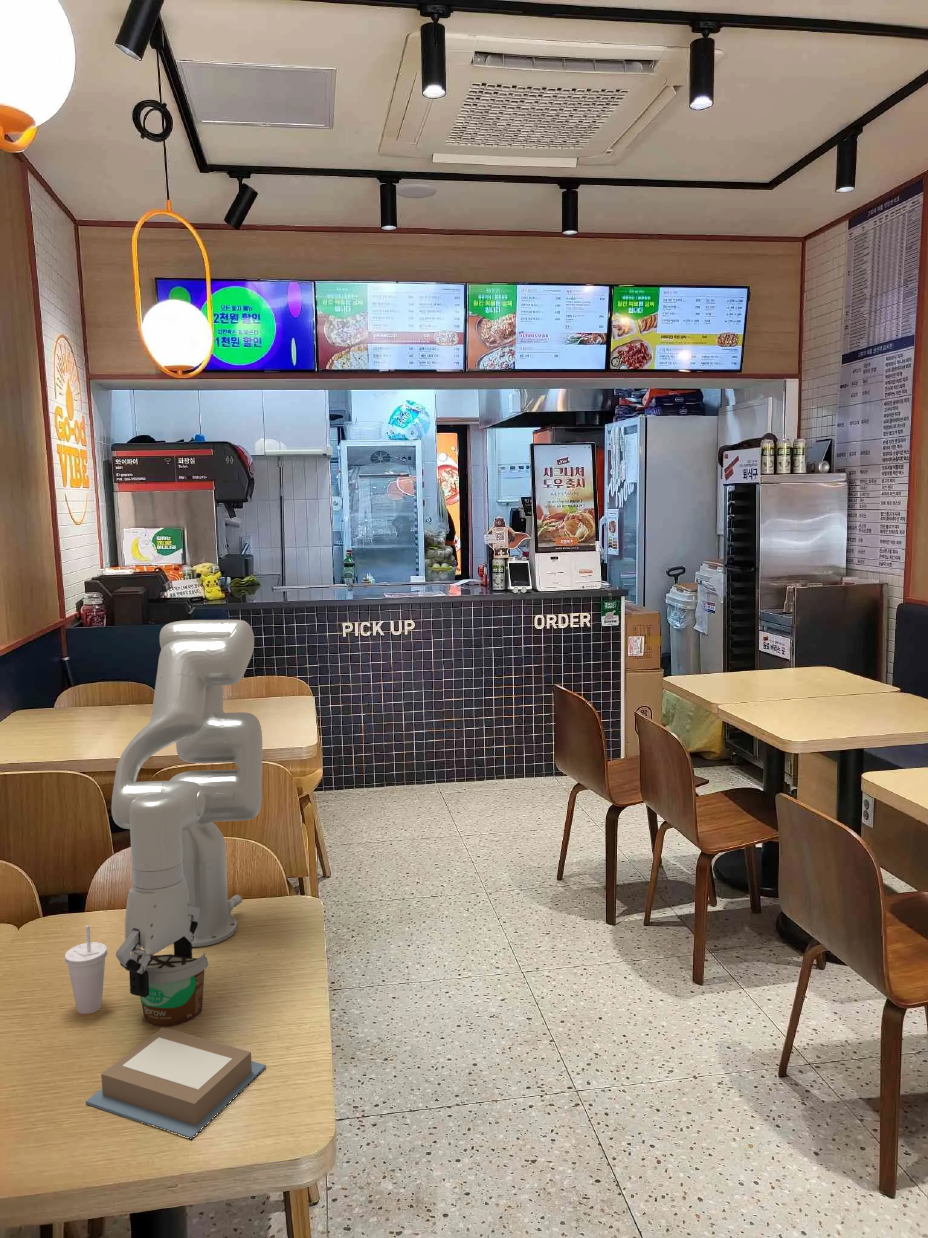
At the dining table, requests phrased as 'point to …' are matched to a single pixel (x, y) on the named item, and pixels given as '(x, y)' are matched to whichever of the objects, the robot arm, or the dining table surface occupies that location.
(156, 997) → the food container
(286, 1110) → the dining table surface
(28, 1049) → the dining table surface
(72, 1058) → the dining table surface
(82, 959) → the smoothie
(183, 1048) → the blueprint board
